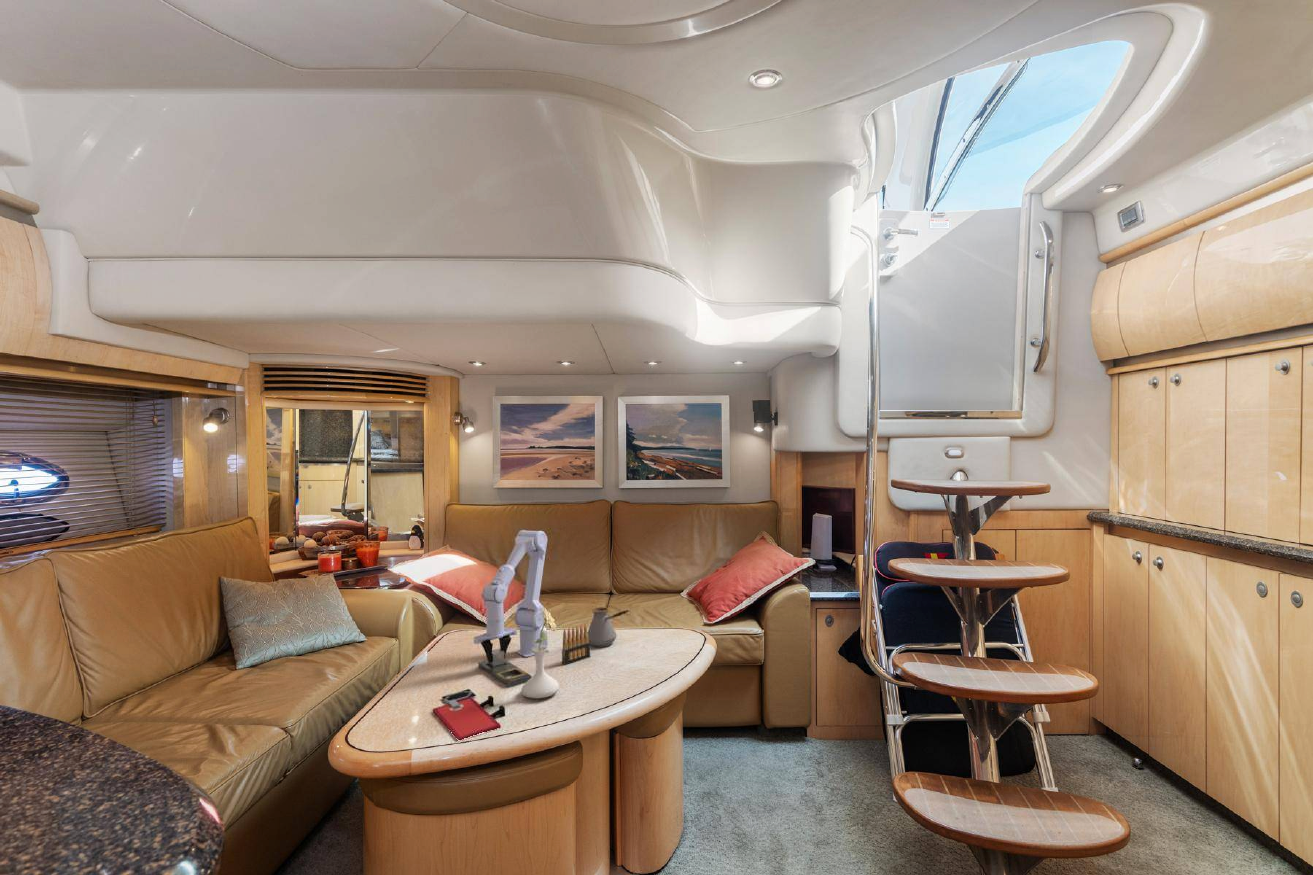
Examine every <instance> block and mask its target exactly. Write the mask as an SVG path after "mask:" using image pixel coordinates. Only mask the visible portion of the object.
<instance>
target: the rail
mask: <svg viewBox="0 0 1313 875" xmlns="http://www.w3.org/2000/svg"><path fill="white" fill-rule="evenodd" d="M504 661H505V665H503V666H500V667H496V668H490V667H489V662H488V660H487V659H486V660H484V661H479V662H478V666H477V667H478V668H479V669H480V670H481V671H483V672H484V673H486V674H487V675H489V676H491V677H492V678H493V679H495V680H496V681H497V682H500V683H501V684H502V685H503V686H505V687H507V688H508V689H509V688H512V687H516V686H519V685H522V684H523V685H524V684H525V683H526V682H527V681H528V680H529V679H530V678H532V677H533V675H531V674H529V673H527V672H526V671H524V670H523V669H521V668H520V667H517V666H516V665H515V664H513V663H511V662H509V661H508V660H506V658H505V659H504Z"/></svg>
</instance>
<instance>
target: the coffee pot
mask: <svg viewBox="0 0 1313 875" xmlns="http://www.w3.org/2000/svg"><path fill="white" fill-rule="evenodd" d="M609 611H610V609H609V608H608V607H605V606H603V607H595V608H592V610H591V612H592V613H593V617H592V620H591V622H590V626H589V627H588V629H587V631H588V643H589V645H591V646H592V647H596V648H603V647H605V648H606V647H609V646H612V643H613V642H614V641H615V640H616V639H617V636H618V635H617V632H616V629H615V628H614V626H613V624H612V621H611V619H614V618H616V617H620V616H622V615H626V616H627V617H630V616H631V614H632V612H631V611H630V610H629V609H625V610H622V611H619V612H617V613H615V614H613V615H610V616H609V615H608V614H609ZM628 612H629V613H630V614H629V615H628V614H627V613H628Z"/></svg>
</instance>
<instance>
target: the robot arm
mask: <svg viewBox="0 0 1313 875" xmlns="http://www.w3.org/2000/svg"><path fill="white" fill-rule="evenodd" d="M514 544H515V545H514V547H513V549H512V551H511V552H510V555H509V557H508V558H507V560H506V563H505V564H503V565H501V566H500V567H499V568H498V569H497V572H496V574H495V575H494V577H493V579H492V580H491V582H490V583H489V584H487V585H485V587H484V588H483V589H482V593H481V598H482V600H483V602H484V606H485V615H486V620H485V621H486V633H483V634H480V635H478V636H474V637H473V644H474V645H475V644H476V645H479V644H480V645H481V646H482V649H483V650H484V652H485V655H486V660H488V662H489V663H492V650H493V647H494V643H493V642H492V641H494V640H496V639H498V640H499V647H500V649H501V650H503V651H504V659H505V660H506V655H507V651H508V648H509V645H510V644H511V642H512V637H510V636H516V635H518V633H517V632H518V631H517V629H519V649H517V650H515V652H516V653H517V654H519V655H521V657H524V658H528V657H531V656H535V655H534V653H533V652H532V651H531V648H533V647H535V646H539V643H535V642H536V641H537V639H540V634H541V630H542V627H543V625H544V623H545V620H544V618H543V615H542V609H544V610H545V607H544V606H543V605H542V603H541V602H540V595H541V588H542V579H543V572H544V566H545V557H546V553H547V552H546V551H547V546H548V536H547V534H546V533H545V532H544V531H543V530H525V529H521V530H520V531H518V533H517V535H516V537H515V539H514ZM526 553H527V554H528V556H529V564H528V571H527V577H526V581H525V582H526V584H525V589H524V597H523V600H522V601H521V602H519V603H518V605H517V609H516V611H515V613H514V618H513V619H514V624H515V625H516V626H517V628H515V627H512V628H506V629H505V617H504V615H505V614H504V610H505V609H504V601H505V599H506V598H507V595H508V590H509V585H510V584H511V582H512V580H513V579H514V577H515V575H516V571H515V569H516V568H517V566H518V564H519V563H520V562H521V561H522V559H523V558H524V556H525V554H526ZM542 632H544V633H546V635H547V636H548V630H547V628H546V625H545V626H544V628H543V631H542ZM541 640H543V641H542V642H541V643H540V646H547V647H548V642H549V641H548V638H547V639H546V640H544V639H542V637H541ZM549 651H550V650H549V648H548V649H547V650H546V652H549ZM546 652H545V653H546Z"/></svg>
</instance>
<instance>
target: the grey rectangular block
mask: <svg viewBox="0 0 1313 875" xmlns="http://www.w3.org/2000/svg"><path fill="white" fill-rule="evenodd" d="M503 665H505V661H504V651H503V650H501V649H500V648H495V649H492V663H489V667H490V668H496V667H500V666H503Z"/></svg>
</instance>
